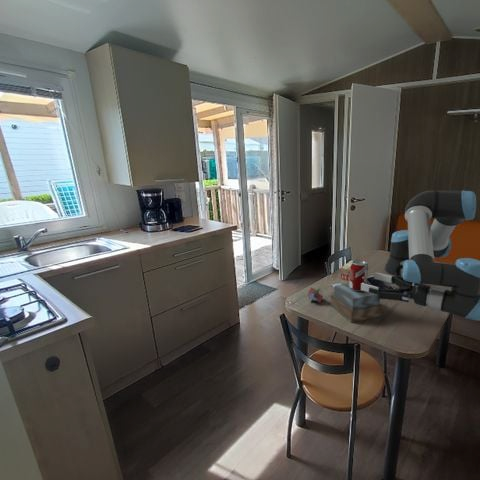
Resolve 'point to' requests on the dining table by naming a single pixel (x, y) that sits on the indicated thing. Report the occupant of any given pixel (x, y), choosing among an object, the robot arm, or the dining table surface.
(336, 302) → the grey brown square block
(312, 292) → the geometric puzzle
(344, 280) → the stack of blocks
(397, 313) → the dining table surface
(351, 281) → the soda can
